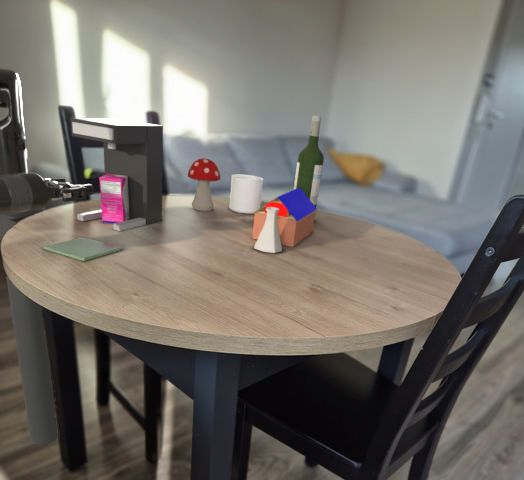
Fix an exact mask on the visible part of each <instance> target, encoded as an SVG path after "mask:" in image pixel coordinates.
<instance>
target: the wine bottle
mask: <svg viewBox="0 0 524 480" xmlns="http://www.w3.org/2000/svg"><path fill="white" fill-rule="evenodd" d="M321 122H322V116H321V115H314V114H313V115H312V117H311V123H310V130H309V135H308V141H307V145H306V146H305V147H303V148H302V149H301V150H300V151H299V153H298V156H297V161H296V169H295V177H294V184H293V190H295V189H297V188H299V187H300V188H301V190H302V191H303V192H304V193H305V195H306V196H307V197H308V198H309V200H310V201H311V202H312V203H313V205H314V206H315V207H316V208H317V206H318V200H319V199H318V198H319V192H320V186H321V180H322V173H323V165H324V161H325V160H324V159H325V157H324V156H325V155H324V154H323V152H322V150H321V149H320V147H319V139H320V130H321ZM316 211H317V210H316ZM316 211H315V213H317V212H316ZM315 218H316V216H315V217H314V220H316V219H315Z"/></svg>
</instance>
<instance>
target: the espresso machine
mask: <svg viewBox="0 0 524 480" xmlns="http://www.w3.org/2000/svg"><path fill="white" fill-rule="evenodd" d="M69 119H70V131H71V137H74V138H80V139H84V140H91V141H95V142H101V143H103V165H104V167H103V168H104V175H106V174H113V175H124V176H128V195H129V216H130V220H127V221H123V222H118V223H114V224H113V231H118V232H122V231H126V230H130V229H134V228H138V227H142V226H146V225H150V224H154V223H158V222H161V221H163V165H164V164H163V160H164V159H163V158H164V157H163V156H164V155H163V153H164V151H163V150H164V147H163V146H164V143H163V142H164V125H161V124H155V123H147V122H143V121H142V122H141V121H134V120H130V119H123V118H104V117H103V118H101V117H100V118H99V117H98V118H97V117H95V118H94V117H70V118H69ZM76 216H77V221H81V222H88V221H92V220H96V219H102V209H96V210H92V211H87V212H81V213H77V214H76Z"/></svg>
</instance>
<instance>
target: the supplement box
mask: <svg viewBox="0 0 524 480" xmlns="http://www.w3.org/2000/svg"><path fill="white" fill-rule="evenodd" d="M98 179H99V190H100V191H99V193H100V205H101V206H100V207H101V210H102V218H101V221H102V223H104V224H114V223H118V222H123V221H127V220H130V216H129V195H128V176H124V175H113V174H106V175H105V174H103V175H102V176H99V178H98Z"/></svg>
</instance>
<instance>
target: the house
mask: <svg viewBox="0 0 524 480" xmlns="http://www.w3.org/2000/svg"><path fill="white" fill-rule="evenodd" d="M267 207H274V208H278V209H279V212H278V213H277V226H278V231H279V236H280V241H281V246H286V247H292V248H293V247H295V246H296V245H298V244H299V243H300V242H302V240H304V239H305V238H307V237H308V236H309V235H310V234H311V233H313V228H314V222H315V219H314V217H315V218H316V212H315V211H317V210H318V208H317V206H316V207H315V206H314V205H313V203H312V202H311V201H310V200H309V198H308V197H307V196H306V195H305V193H304V192H303V191H302V190H301V188H300V187H299V188H297V189H295V190H294V189H293V190H290V191H288V192H285V193H283V194H281V195H279V196H276V197H275V198H274V199H272V200H270V201H269V202H267V203H266V204H264V205H263V206H260V209H258V210H257V211H255V212H254V213H253V214H254V217H253V228H252V236H251V237H252V238H251V239H253V240H257V239H258V237H259V235H260V233H261V231H262V228H263V226H264V224H265V221H266V217H267V211H266V208H267Z"/></svg>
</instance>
